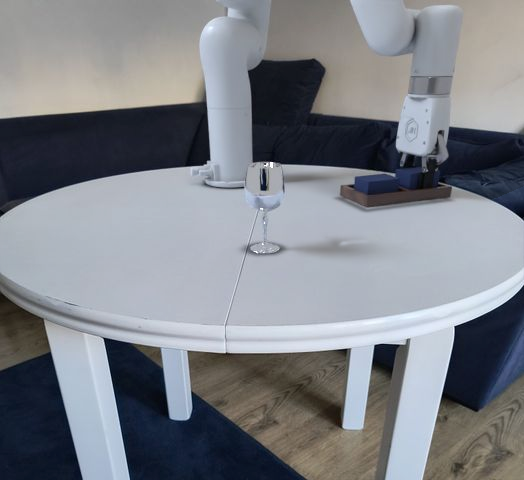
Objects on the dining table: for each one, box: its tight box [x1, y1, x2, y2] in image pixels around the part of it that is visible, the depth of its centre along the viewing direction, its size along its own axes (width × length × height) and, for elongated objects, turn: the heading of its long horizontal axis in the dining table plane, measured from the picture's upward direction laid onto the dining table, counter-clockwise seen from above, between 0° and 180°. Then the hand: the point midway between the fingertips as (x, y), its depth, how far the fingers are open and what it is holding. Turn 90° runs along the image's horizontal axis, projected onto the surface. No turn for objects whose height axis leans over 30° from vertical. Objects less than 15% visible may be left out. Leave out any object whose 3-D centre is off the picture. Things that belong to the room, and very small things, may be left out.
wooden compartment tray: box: [339, 181, 453, 208], centre depth 97 cm, size 10×19×3 cm, turn 112°
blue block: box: [353, 173, 400, 195], centre depth 95 cm, size 7×5×4 cm
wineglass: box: [243, 161, 286, 255], centre depth 70 cm, size 6×6×12 cm
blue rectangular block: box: [394, 166, 441, 190], centre depth 97 cm, size 7×5×4 cm
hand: (415, 188), depth 98 cm, fingers closed on blue rectangular block, 5 cm apart
